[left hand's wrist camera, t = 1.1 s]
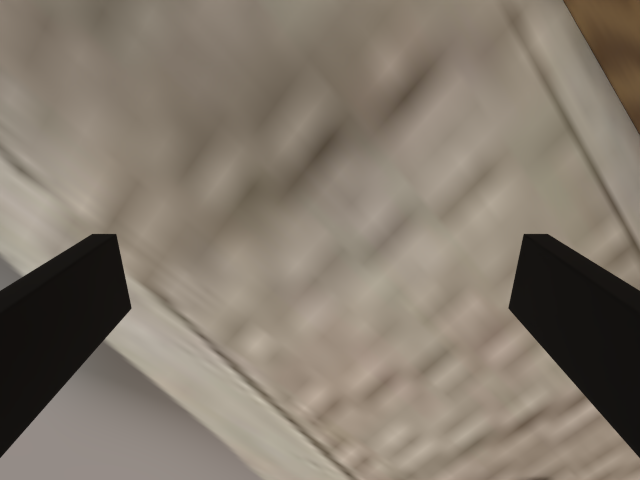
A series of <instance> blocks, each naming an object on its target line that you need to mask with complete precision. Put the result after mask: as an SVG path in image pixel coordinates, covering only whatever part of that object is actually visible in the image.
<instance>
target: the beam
mask: <svg viewBox="0 0 640 480" xmlns="http://www.w3.org/2000/svg"><path fill="white" fill-rule="evenodd" d="M564 2H565V3H566V5H567V7H568V9H569V11H570V12H571V14H572V16H573V18H574V19H575V21H576V23H577V25H578V26H579V28H580V30H581V32H582V33H583V35H584V37H585V39H586V40H587V42H588V44H589V46H590V47H591V49H592V51H593V53H594V55H595V56H596V58H597V60H598V62H599V63H600V65H601V67H602V69H603V70H604V72H605V74H606V76H607V77H608V79H609V81H610V83H611V84H612V86H613V88H614V90H615V91H616V93H617V95H618V97H619V99H620V100H621V102H622V104H623V106H624V107H625V109H626V111H627V113H628V114H629V116H630V118H631V120H632V121H633V123H634V125H635V127H636V128H637V130H638V132H639V134H640V0H564Z"/></svg>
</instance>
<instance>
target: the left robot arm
mask: <svg viewBox="0 0 640 480" xmlns="http://www.w3.org/2000/svg"><path fill="white" fill-rule="evenodd" d="M130 310H131V303H130V299H129V294H128V289H127V284H126V279H125V274H124V270H123V265H122V260H121V255H120V250H119V245H118V240H117V236H116V234H92V235H90V236H88V237H87V238H85V239H84V240H82V241H80V242H79V243H77V244H75V245H74V246H72V247H71V248H69V249H67V250H66V251H64V252H62V253H61V254H59V255H58V256H56V257H54V258H53V259H51V260H50V261H48V262H46V263H45V264H43V265H41V266H40V267H38V268H37V269H35V270H33V271H32V272H30V273H28V274H27V275H25V276H24V277H22V278H20V279H19V280H17V281H16V282H14V283H12V284H11V285H9V286H7V287H6V288H4V289H3V290H1V291H0V458H1V457H2V455H3V454H4V453H5V452H6V451H7V450H8V449H9V447H10V446H11V445H12V444H13V443H14V442H15V441H16V439H17V438H18V437H19V436H20V435H21V434H22V433H23V431H24V430H25V429H26V428H27V427H28V426H29V425H30V423H31V422H32V421H33V420H34V419H35V418H36V417H37V416H38V414H39V413H40V412H41V411H42V410H43V409H44V407H45V406H46V405H47V404H48V403H49V402H50V401H51V400H52V398H53V397H54V396H55V395H56V394H57V393H58V392H59V390H60V389H61V388H62V387H63V386H64V385H65V384H66V382H67V381H68V380H69V379H70V378H71V377H72V376H73V374H74V373H75V372H76V371H77V370H78V369H79V368H80V367H81V365H82V364H83V363H84V362H85V361H86V360H87V358H88V357H89V356H90V355H91V354H92V353H93V352H94V351H95V349H96V348H97V347H98V346H99V345H100V344H101V343H102V341H103V340H104V339H105V338H106V337H107V336H108V335H109V333H110V332H111V331H112V330H113V329H114V328H115V327H116V325H117V324H118V323H119V322H120V321H121V320H122V319H123V318H124V316H125V315H126V314H127V313H128V312H129V311H130ZM509 310H510V311H511V312H512V313H513V314H514V315H515V316H516V318H517V319H518V320H519V321H520V322H521V323H522V324H523V325H524V327H525V328H526V329H527V330H528V331H529V332H530V333H531V335H532V336H533V337H534V338H535V339H536V340H537V341H538V343H539V344H540V345H541V346H542V347H543V348H544V349H545V351H546V352H547V353H548V354H549V355H550V356H551V357H552V359H553V360H554V361H555V362H556V363H557V364H558V365H559V367H560V368H561V369H562V370H563V371H564V372H565V373H566V374H567V376H568V377H569V378H570V379H571V380H572V381H573V382H574V384H575V385H576V386H577V387H578V388H579V389H580V390H581V392H582V393H583V394H584V395H585V396H586V397H587V398H588V400H589V401H590V402H591V403H592V404H593V405H594V406H595V408H596V409H597V410H598V411H599V412H600V413H601V414H602V416H603V417H604V418H605V419H606V420H607V421H608V422H609V423H610V425H611V426H612V427H613V428H614V429H615V430H616V431H617V433H618V434H619V435H620V436H621V437H622V438H623V439H624V441H625V442H626V443H627V444H628V445H629V446H630V447H631V449H632V450H633V451H634V452H635V453H636V454H637V455H638V457H639V458H640V291H639V290H637V289H636V288H634V287H633V286H631V285H629V284H628V283H626V282H625V281H623V280H621V279H620V278H618V277H616V276H615V275H613V274H612V273H610V272H608V271H607V270H605V269H603V268H602V267H600V266H599V265H597V264H595V263H594V262H592V261H590V260H589V259H587V258H586V257H584V256H582V255H581V254H579V253H578V252H576V251H574V250H573V249H571V248H569V247H568V246H566V245H565V244H563V243H561V242H560V241H558V240H556V239H555V238H553V237H552V236H550V235H548V234H524V236H523V240H522V245H521V250H520V255H519V260H518V265H517V270H516V274H515V279H514V284H513V289H512V294H511V299H510V303H509Z"/></svg>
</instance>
